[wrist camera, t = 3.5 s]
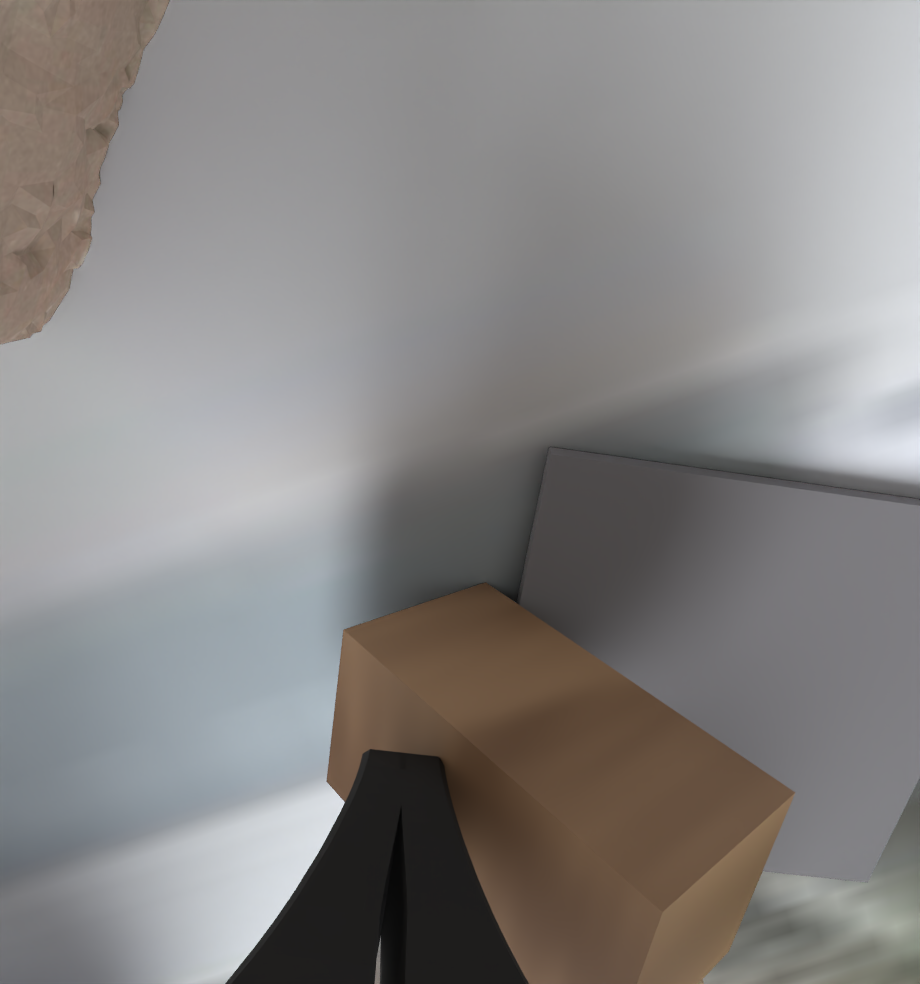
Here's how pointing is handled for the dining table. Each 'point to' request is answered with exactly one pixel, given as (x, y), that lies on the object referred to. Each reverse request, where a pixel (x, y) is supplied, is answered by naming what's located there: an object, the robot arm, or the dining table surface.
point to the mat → (751, 628)
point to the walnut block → (564, 789)
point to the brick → (57, 138)
